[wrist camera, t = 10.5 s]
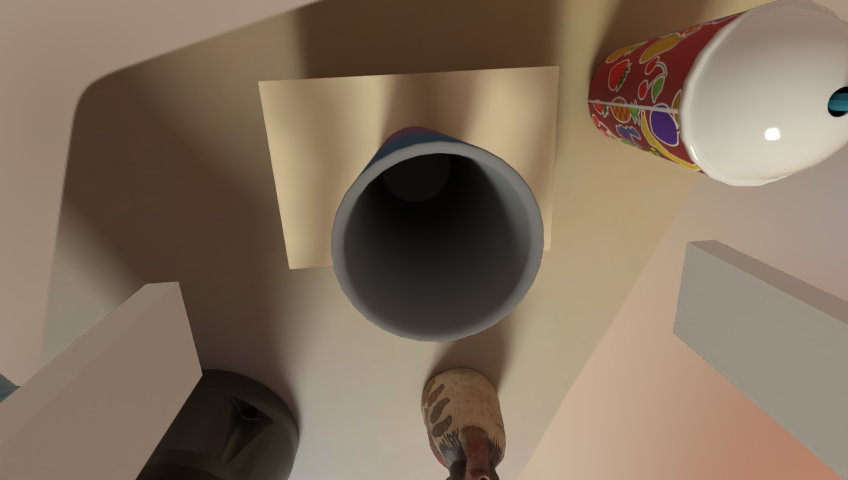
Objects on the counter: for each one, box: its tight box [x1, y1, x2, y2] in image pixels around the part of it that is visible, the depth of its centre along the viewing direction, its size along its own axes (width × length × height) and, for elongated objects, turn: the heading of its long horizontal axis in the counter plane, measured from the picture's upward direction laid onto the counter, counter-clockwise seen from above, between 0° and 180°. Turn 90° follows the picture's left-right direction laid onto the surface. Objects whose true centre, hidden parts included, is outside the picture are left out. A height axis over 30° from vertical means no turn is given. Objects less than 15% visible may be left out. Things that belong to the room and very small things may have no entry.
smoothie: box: [588, 0, 848, 186], centre depth 24 cm, size 8×8×20 cm
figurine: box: [421, 368, 506, 480], centre depth 36 cm, size 7×7×12 cm
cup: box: [331, 126, 544, 342], centre depth 21 cm, size 7×7×15 cm
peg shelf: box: [258, 66, 559, 269], centre depth 31 cm, size 18×12×6 cm, turn 93°
